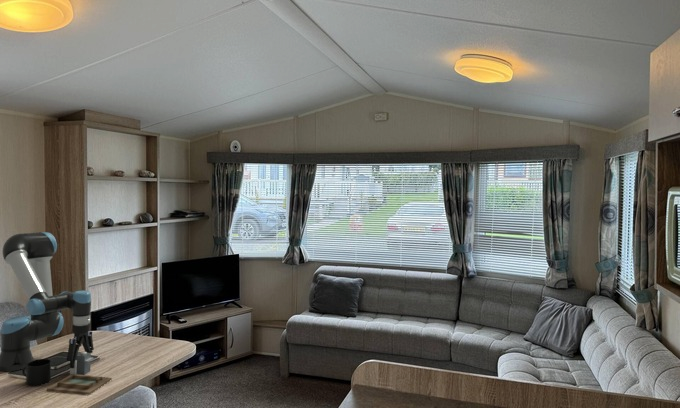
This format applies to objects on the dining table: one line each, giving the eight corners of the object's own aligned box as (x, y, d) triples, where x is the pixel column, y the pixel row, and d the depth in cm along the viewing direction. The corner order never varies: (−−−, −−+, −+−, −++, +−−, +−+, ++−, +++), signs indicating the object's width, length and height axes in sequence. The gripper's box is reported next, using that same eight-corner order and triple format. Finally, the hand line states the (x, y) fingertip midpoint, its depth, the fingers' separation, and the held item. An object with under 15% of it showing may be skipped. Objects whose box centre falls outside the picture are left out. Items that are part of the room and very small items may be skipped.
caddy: (46, 390, 207) (46, 385, 206) (71, 376, 222) (71, 371, 222) (89, 394, 204) (89, 389, 204) (111, 379, 220) (111, 374, 220)
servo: (67, 373, 226) (68, 353, 225) (74, 369, 230) (74, 349, 230) (87, 375, 224) (87, 354, 224) (93, 371, 229) (93, 351, 229)
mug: (28, 377, 219) (29, 358, 219) (55, 378, 220) (55, 359, 219) (15, 386, 210) (15, 366, 210) (42, 386, 210) (43, 366, 210)
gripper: (73, 330, 215) (72, 379, 216) (102, 318, 237) (101, 362, 237) (58, 329, 216) (56, 378, 216) (88, 317, 238) (87, 361, 238)
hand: (80, 370), depth 227 cm, fingers open, 9 cm apart
